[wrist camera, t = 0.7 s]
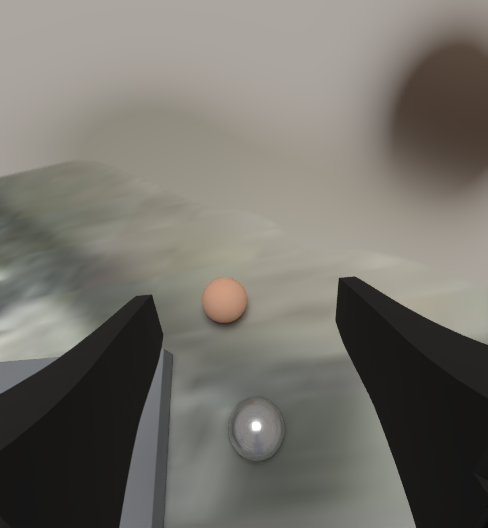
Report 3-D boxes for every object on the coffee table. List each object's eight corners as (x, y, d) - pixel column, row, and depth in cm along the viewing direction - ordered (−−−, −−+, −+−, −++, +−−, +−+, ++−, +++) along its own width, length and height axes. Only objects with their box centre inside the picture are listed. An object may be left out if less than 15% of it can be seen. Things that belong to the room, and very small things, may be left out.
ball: (249, 326, 27) (247, 311, 23) (206, 330, 27) (196, 316, 23) (247, 286, 28) (243, 267, 25) (206, 290, 29) (197, 271, 25)
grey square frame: (160, 574, 19) (146, 593, 17) (-45, 584, 20) (-84, 605, 17) (172, 355, 26) (163, 348, 24) (19, 367, 26) (-3, 362, 24)
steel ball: (286, 456, 22) (289, 462, 18) (232, 459, 22) (225, 466, 18) (280, 397, 24) (281, 392, 20) (230, 400, 24) (224, 396, 20)
